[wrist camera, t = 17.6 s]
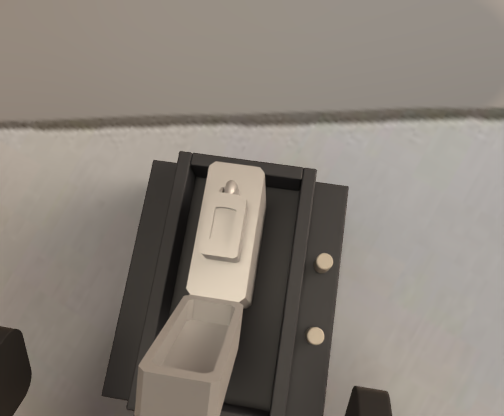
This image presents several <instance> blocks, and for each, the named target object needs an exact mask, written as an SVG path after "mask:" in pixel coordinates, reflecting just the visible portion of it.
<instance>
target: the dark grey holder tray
mask: <svg viewBox="0 0 504 416" xmlns="http://www.w3.org/2000/svg"><path fill="white" fill-rule="evenodd" d="M215 161H217V162H225V163H232V164H240V165H247V166H255V167H260V168H261V169H262V170H263V172H264V173H265V189H266V214H265V220H264V227H263V234H262V240H261V247H260V253H259V260H258V266H257V273H256V279H255V286H254V292H253V299H252V305H251V306H249V307H248V308H247V309H245V308H243V315H242V323H241V331H240V338H239V346H238V351H237V355H236V358H235V362H234V365H233V369H232V373H231V376H230V380H229V384H228V387H227V391H226V395H225V398H224V402H223V406H222V409H221V413H220V416H323V412H324V403H325V394H326V385H327V376H328V367H329V358H330V349H331V340H332V332H333V323H334V314H335V305H336V296H337V287H338V278H339V269H340V260H341V251H342V242H343V233H344V224H345V215H346V206H347V197H348V186H342V185H334V184H327V183H320V182H315V181H316V173H317V170H316V169H310V168H304V169H303V168H302V167H295V166H288V165H280V164H273V163H266V162H258V161H251V160H243V159H236V158H228V157H221V156H213V155H206V154H198V153H193V154H192V153H191V152H183V151H180V152H179V157H178V161H177V163H173V162H165V161H158V160H154V161H153V164H152V169H151V173H150V178H149V182H148V187H147V191H146V196H145V200H144V205H143V210H142V214H141V219H140V223H139V228H138V232H137V237H136V241H135V246H134V250H133V255H132V259H131V264H130V269H129V273H128V278H127V282H126V287H125V291H124V296H123V300H122V305H121V309H120V314H119V318H118V323H117V327H116V332H115V337H114V341H113V346H112V350H111V355H110V359H109V364H108V368H107V373H106V377H105V382H104V386H103V391H102V396H105V397H110V398H116V399H121V400H127V401H128V403H127V410H132V411H135V402H136V389H137V376H138V365H139V364H140V362H141V361H142V359H143V358H144V356H145V354H146V353H147V351H148V350H149V348H150V347H151V345H152V344H153V342H154V341H155V339H156V338H157V336H158V335H159V333H160V332H161V330H162V328H163V327H164V325H165V324H166V322H167V321H168V319H169V318H170V316H171V315H172V313H173V312H174V310H175V309H176V307H177V305H178V304H179V302H180V301H181V299H182V298H183V296H186V295H190V293H189V292H188V290H187V289H186V287H187V282H188V276H189V271H190V266H191V260H192V255H193V249H194V244H195V239H196V233H197V228H198V223H199V217H200V212H201V207H202V201H203V196H204V191H205V185H206V180H207V175H208V169H209V166H210V165H211V164H213V163H214V162H215Z"/></svg>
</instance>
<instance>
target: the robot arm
mask: <svg viewBox="0 0 504 416" xmlns="http://www.w3.org/2000/svg"><path fill="white" fill-rule="evenodd" d="M31 375H32V373H31V367H30V363H29V359H28V355H27V351H26V347H25V343H24V338H23V335H22V332H21V331H20V330H18V329H13V328H7V327H1V326H0V416H13V414H14V413H15V411H16V410H17V408H18V407H19V405H20V404H21V402H22V401H23V399H24V397H25V396H26V394H27V391H28V389H29V386H30V382H31ZM345 416H392V411H391V404H390V397H389V394H388V392H387V391H383V390H377V389H371V388H365V387H358V386H354V387H353V390H352V393H351V396H350V400H349V403H348V407H347V410H346V414H345Z"/></svg>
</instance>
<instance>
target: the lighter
mask: <svg viewBox="0 0 504 416" xmlns="http://www.w3.org/2000/svg"><path fill="white" fill-rule="evenodd" d="M265 214H266V189H265V173H264V172H263V170H262V169H261V168H260V167H255V166H247V165H240V164H232V163H225V162H217V161H215V162H214V163H213V164H211V165H210V166H209V169H208V175H207V180H206V185H205V191H204V196H203V201H202V207H201V212H200V217H199V223H198V228H197V233H196V239H195V244H194V249H193V255H192V260H191V266H190V271H189V276H188V282H187V287H186V289H187V290H188V292H189V293H190V295H186V296H183V298H182V299H181V301H180V302H179V304H178V305H177V307H176V309H175V310H174V312H173V313H172V315H171V316H170V318H169V319H168V321H167V322H166V324H165V325H164V327H163V328H162V330H161V332H160V333H159V335H158V336H157V338H156V339H155V341H154V342H153V344H152V345H151V347H150V348H149V350H148V351H147V353H146V354H145V356H144V358H143V359H142V361H141V362H140V364H139V365H138V376H137V389H136V402H135V415H134V416H220V413H221V409H222V406H223V402H224V398H225V395H226V391H227V387H228V384H229V380H230V376H231V373H232V369H233V365H234V362H235V358H236V355H237V351H238V346H239V338H240V331H241V323H242V315H243V308H245V309H247V308H248V307H249V306H251V305H252V299H253V292H254V286H255V279H256V273H257V266H258V260H259V253H260V247H261V240H262V234H263V227H264V220H265Z"/></svg>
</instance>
